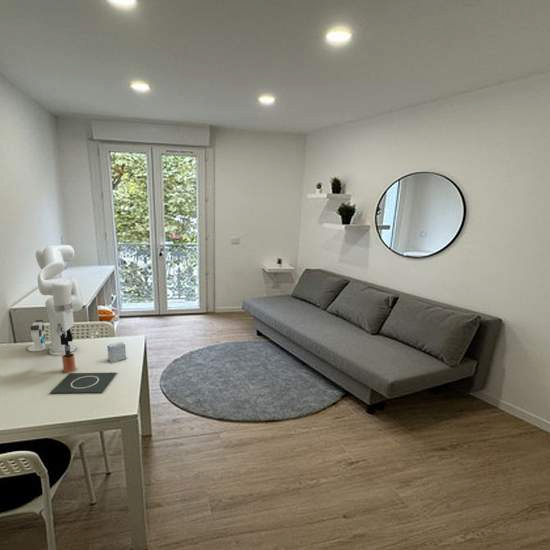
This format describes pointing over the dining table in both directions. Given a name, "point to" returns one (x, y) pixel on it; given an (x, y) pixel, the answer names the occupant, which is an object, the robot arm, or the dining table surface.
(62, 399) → the dining table surface
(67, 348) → the cylinder
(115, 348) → the medicine box
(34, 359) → the dining table surface
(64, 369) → the pen cup
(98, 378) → the slate board
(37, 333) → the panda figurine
